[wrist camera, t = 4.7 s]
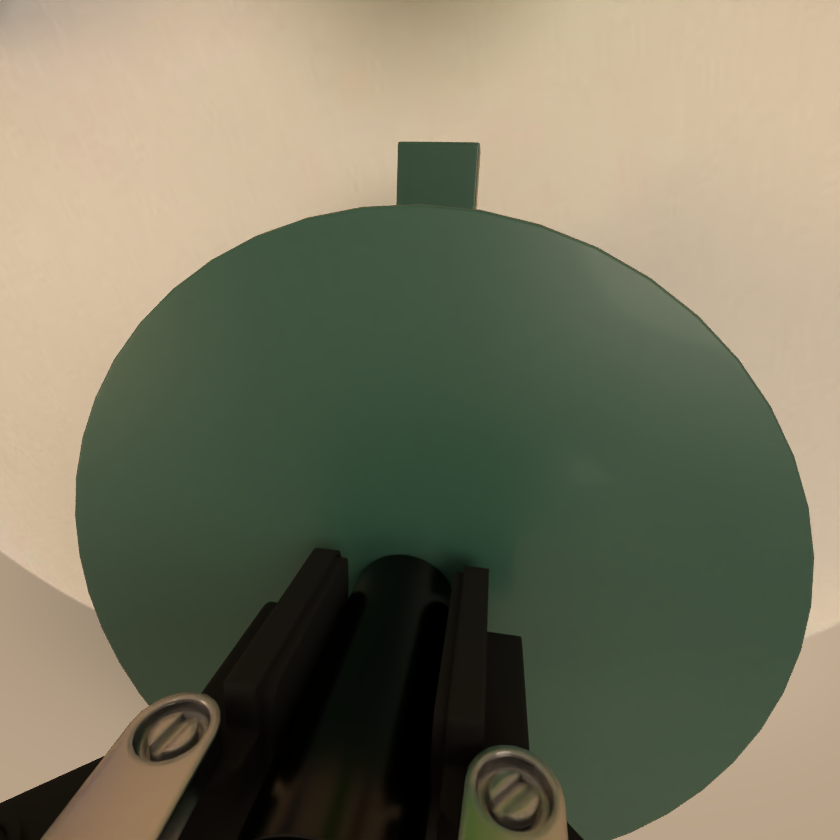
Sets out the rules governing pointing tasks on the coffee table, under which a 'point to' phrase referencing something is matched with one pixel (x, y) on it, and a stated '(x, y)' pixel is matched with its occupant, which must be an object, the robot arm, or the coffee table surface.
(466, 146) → the pot
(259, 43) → the coffee table surface
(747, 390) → the lid
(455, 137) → the coffee table surface
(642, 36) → the coffee table surface
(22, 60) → the coffee table surface
